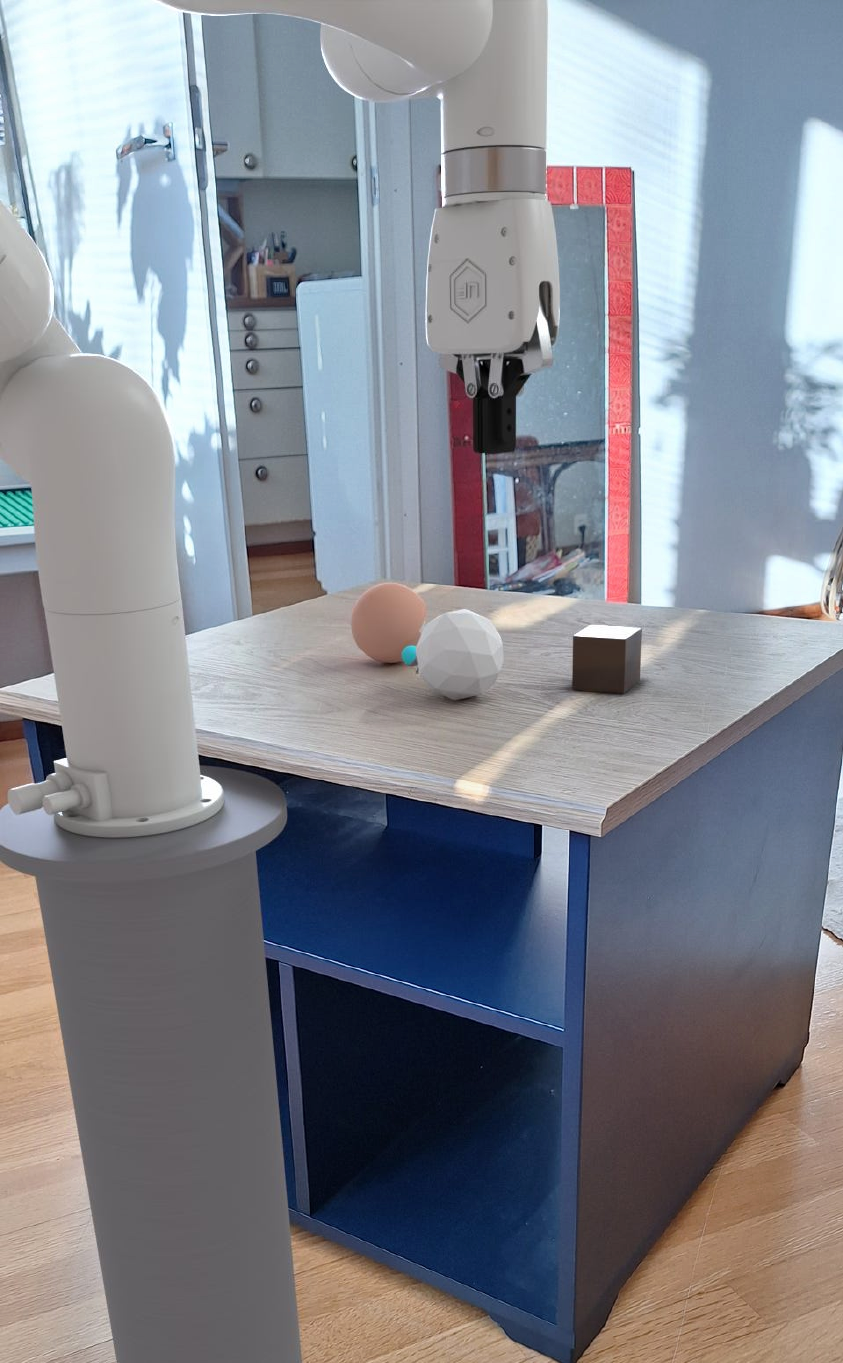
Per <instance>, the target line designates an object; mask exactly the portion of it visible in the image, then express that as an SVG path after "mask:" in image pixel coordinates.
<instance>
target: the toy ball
mask: <svg viewBox="0 0 843 1363" xmlns="http://www.w3.org/2000/svg"><path fill="white" fill-rule="evenodd" d="M426 618H427V605H426V603H425V601H424V600H423V598H422V597H421V596H420V595H419V594H418V593H417V592H416V591H415V590H413V589H412V588H410V587H409V586H407V585H405V584H401V583H398V582H381V583H378V584H375V585H374V586H371V587H370V588H368V589H367V590H365V591H364V592H363V593H362V594H361V595H360V596H359V597H358V599H357V600H356V602H355V604H354V606H353V608H352V611H351V615H350V630H351V635H352V637H353V640H354V642H355V644H356V646H357V647H358V649H359V650H360V651H362V652H363V653H364V654H365V655H366V656H368V657H369V658H371V659H372V660H375V661H377V662H381V663H385V664H386V663H387V664H395V663H401V662H404V661H403V659H402V652H403V650H404V649H405V648H406V647H407V646H410V645H413V646H417V644H418V641H419V639H420V636H421V634H422V631H423V629H424V627H425V625H426Z"/></svg>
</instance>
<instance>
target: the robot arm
mask: <svg viewBox="0 0 843 1363" xmlns="http://www.w3.org/2000/svg"><path fill="white" fill-rule="evenodd" d="M152 1H153V2H155V3H157V4H159V5H161V6H163V7H166V8H168V9H169V10H173V11H175V12H176V11H177V12H181V13H187V14H196V15H201V16H203V15H204V16H219V17H220V16H236V15H249V14H269V15H270V14H271V15H281V16H287V17H294V18H298V19H303V20H307V21H311V22H315V23H318V24H320V31H319V40H320V41H319V42H320V50H321V55H322V58H323V61H324V64H325V66H326V68H327V70H328V72H329V75H331V77H332V78H333V80H334V81H335V82H336V83H337V84H338V86H339V87H340V88H341V89H343V90H344V91H345V92H347V93H349V94H350V95H352V96H354V97H356V98H358V99H361V100H363V101H366V102H371V103H395V102H402V101H407V100H410V101H411V100H418V99H427V98H428V99H429V98H437V99H439V101H440V142H441V143H440V145H441V150H440V151H441V158H440V159H441V172H440V173H439V174H438V176H437V179H436V186H437V189H438V191H439V192H440V193H441V202H442V203H441V207H437V208H435V209H434V213H433V218H432V223H431V230H430V237H429V244H428V256H427V266H426V267H427V268H426V287H425V336H426V337H425V338H426V343H427V346H428V349H430V350H431V351H432V352H434V353H436V354H439V360H438V361H439V363H438V364H439V367H440V368H441V369H442V370H444V371H447V372H449V373H453V374H455V375H458V377H459V378H460V379H461V380H462V383H463V384H464V388H465V389H464V390H465V394H466V396H467V397H468V398H470V399H472V448H473V449H472V450H473V452H474V453H475V454H485V455H486V454H487V455H495V454H504V453H512V452H515V451H516V448H517V397H521V396H522V395H523V393H524V389H525V384H526V383H527V381H528V380H529V379H530V377H531V375H532V374H535V373H539V372H541V371H544V370H546V369H550V368H551V367H552V366H553V365H554V354H553V346H554V345H555V344H556V342H557V341H558V336H559V330H560V329H559V328H560V314H561V311H560V310H561V286H560V285H561V284H560V266H559V265H560V263H559V252H558V242H557V234H556V226H555V219H554V218H555V217H554V213H553V207H552V202H551V200H547V132H548V131H547V129H548V128H547V126H548V125H547V124H548V123H547V122H548V119H547V118H548V117H547V116H548V113H547V112H548V35H549V34H548V32H549V30H548V29H549V23H548V22H549V10H548V9H549V8H548V7H549V6H548V0H152ZM54 290H55V289H54V283H53V279H52V274H51V272H50V269H49V267H48V265H47V262H46V258H45V257H44V255H43V252H42V251H41V250H40V249H39V246H38V245H37V244H36V242H35V240H34V239H33V238H32V236H31V235H30V234H29V232H28V231H27V230H26V229H25V228H24V226H23V225H22V224H21V223H20V221H18V219H17V218H16V216H15V214H13V213H12V211H11V210H10V209H9V207H7V205H6V204H5V202H4V201H3V200H2V199H1V198H0V459H1V460H2V461H3V462H4V463H5V464H6V466H8V468H9V469H10V470H11V471H13V473H14V474H16V475H17V476H18V477H19V478H20V479H22V480H23V481H24V482H26V483H27V484H28V485H30V489H31V496H32V497H31V499H32V500H31V501H32V517H33V528H34V529H33V530H34V531H33V532H34V545H35V546H34V547H35V557H36V565H37V572H38V579H39V581H38V582H39V587H40V594H41V601H42V607H43V609H44V610H43V611H44V617H45V624H46V630H47V635H48V636H47V637H48V643H49V650H50V656H51V661H52V662H51V663H52V669H53V676H54V683H55V690H56V696H57V697H56V698H57V703H58V709H59V715H60V722H61V728H62V735H63V742H64V749H65V756H66V757H64V758H60V759H57V760H53V766H54V772H53V773H50V774H48V775H46V778H45V780H44V781H40V782H37V783H34V782H30V783H27V784H23V785H19V786H16V787H12V788H9V789H8V790H7V796H6V797H7V802H8V803H9V805H10V808H11V809H12V811H13V812H14V813H15V814H16V815H20V814H23V813H27V812H30V811H34V810H37V809H41V808H42V807H43V808H44V810H45V812H46V813H47V814H48V815H52V814H53V815H54V820H55V822H56V823H57V825H59V826H60V827H62V828H63V829H65V830H67V831H69V832H72V833H75V834H79V835H84V836H90V837H99V838H133V837H143V836H152V835H158V834H164V833H168V832H173V831H177V830H181V829H184V828H187V827H190V826H194V825H196V824H198V823H201V822H203V821H205V820H207V819H209V818H210V817H212V816H214V815H215V814H216V813H217V812H218V811H219V810H220V809H221V808H222V806H223V804H224V797H223V789H222V786H221V785H220V784H219V783H218V782H216V781H215V780H213V779H211V778H209V777H206V776H203V775H200V767H199V765H200V760H199V750H198V740H197V731H196V722H195V713H194V704H193V694H192V684H191V676H190V665H189V657H188V648H187V647H188V646H187V639H186V629H185V628H186V627H185V622H184V621H185V620H184V619H185V618H184V609H183V601H182V593H181V584H180V574H179V566H178V554H177V553H178V552H177V538H176V517H175V516H176V515H175V514H176V513H175V512H176V511H175V509H176V508H175V505H176V450H175V448H176V447H175V442H174V435H173V430H172V426H171V422H170V419H169V416H168V413H167V411H166V408H165V405H164V404H163V401H162V400H161V398H160V397H159V395H158V394H157V392H156V390H155V389H154V388H153V387H152V386H151V385H150V383H149V382H148V381H147V380H146V379H145V378H144V377H143V376H142V375H141V374H140V373H139V372H138V371H136V370H135V369H133V368H132V367H130V366H129V365H127V364H125V363H124V362H122V361H120V360H117V359H115V358H112V357H108V356H105V355H102V354H95V353H83V351H81V349H80V348H79V347H78V345H77V344H76V342H75V341H74V339H73V338H72V337H71V335H70V334H69V333H68V332H67V330H66V329H65V328H64V326H63V325H62V323H61V322H60V321H59V319H58V318H57V316H56V315H55V314H54V313H53V311H54V303H55V302H54V301H55V300H54V299H55V293H54V292H55V291H54Z"/></svg>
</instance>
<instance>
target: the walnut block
mask: <svg viewBox="0 0 843 1363" xmlns="http://www.w3.org/2000/svg"><path fill="white" fill-rule="evenodd" d="M642 636H643V628H642V627H632V626H631V627H628V626H614V625H613V626H610V625H596V624H590V625H589V626H587V627H585V628H583V629H582V630H580V631H578V632H577V633H576V634H573V635H572V672H571V673H572V675H571V676H572V678H571V690H573V691H585V692H596V693H597V692H598V693H607V694H608V693H609V694H619V695H624V694H626V693H628V691H630V690H631V689H632V688H633V687H634V686H636V685H637V684H638V683H640V681H641V665H642V664H641V663H642V641H643V640H642V638H643V637H642Z"/></svg>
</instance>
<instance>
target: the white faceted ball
mask: <svg viewBox="0 0 843 1363" xmlns="http://www.w3.org/2000/svg"><path fill="white" fill-rule="evenodd" d="M504 658H505V657H504V643H503V641H502V638H501V635H500V633H499V632H498V630H497V628H496V627H495V626H494V624H493V623H492V621H491V619H490V618H487V617H485V616H483V615H481V614H478V613H476V612H473V611H472V610H469V609H467V608H462V609H457V610H453V611H449V612H445V613H444V612H443V613H442V614H440V615H438V616H436V617H435V618H434V619H432V620H430V621H429V622H428V623H425V627H424V629H423V631H422V634H421V636H420V639H419V641H418V644H417V646H413V645H410V646H407V647H406V648H405V649H404V650H403V652H402V659H403V661H402V662H404V663H405V665H406V666H407V667H411V668H412V667H416V666H417V668H416V669H415V670H414V672H413V675H412V679H414V678H415V676H416V675H419V676H420V677H421V678H422V680H423V681H424V682H425V684H426V685H427V687H428V688H429V689H430V690H431V691H432V692H435V693H437V694H439V695H442V696H444V697H445V698H448V699H451V700H452V701H458V700H462V699H468V698H471V697H476V696H479V695H481V694H483V693H485V692H486V691H487V690H488V689H490V688H491V687H492V686H493V685H495V683H496V681H497V679H498V677H499V674H500V672H501V669H502V667H503V664H504V661H505V660H504Z"/></svg>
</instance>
